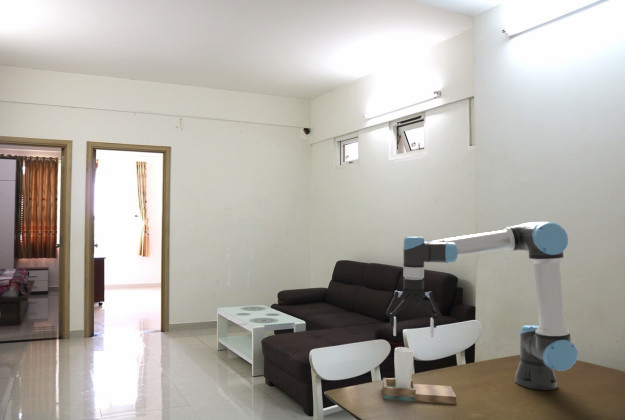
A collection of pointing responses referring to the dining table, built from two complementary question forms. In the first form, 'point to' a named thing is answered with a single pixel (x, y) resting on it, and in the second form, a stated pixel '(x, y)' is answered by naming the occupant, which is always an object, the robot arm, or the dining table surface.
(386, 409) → the dining table surface
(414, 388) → the rail board
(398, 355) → the white cylinder
